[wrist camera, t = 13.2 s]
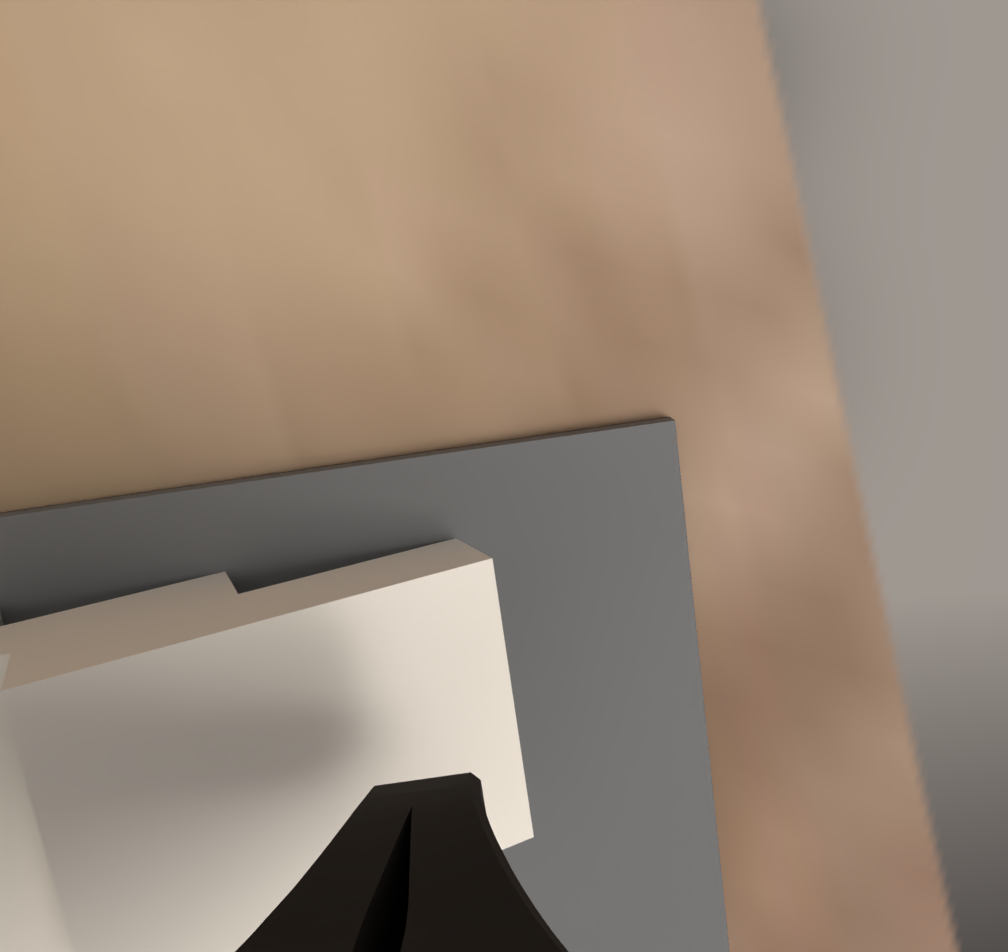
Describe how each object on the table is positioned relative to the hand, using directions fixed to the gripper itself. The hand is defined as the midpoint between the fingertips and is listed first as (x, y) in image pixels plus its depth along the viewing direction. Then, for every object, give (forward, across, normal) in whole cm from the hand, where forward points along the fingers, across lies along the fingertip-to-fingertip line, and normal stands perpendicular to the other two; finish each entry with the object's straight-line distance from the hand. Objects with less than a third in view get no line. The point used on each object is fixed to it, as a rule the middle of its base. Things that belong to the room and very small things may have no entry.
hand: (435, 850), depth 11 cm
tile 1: (+4, -1, 0) cm, 5 cm away
